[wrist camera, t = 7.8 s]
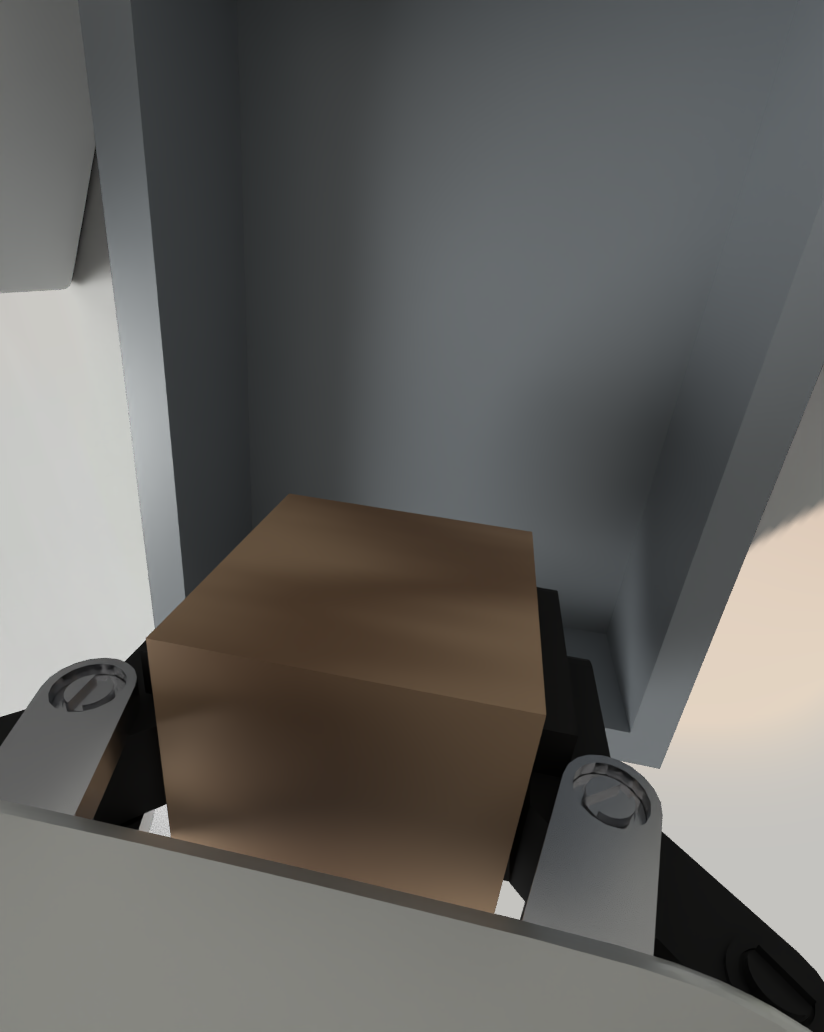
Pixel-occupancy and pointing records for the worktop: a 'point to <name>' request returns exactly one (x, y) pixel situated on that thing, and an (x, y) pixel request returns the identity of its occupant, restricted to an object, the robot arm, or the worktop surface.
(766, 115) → the tote
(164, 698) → the walnut cube
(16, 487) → the worktop surface
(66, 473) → the worktop surface
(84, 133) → the milk carton
